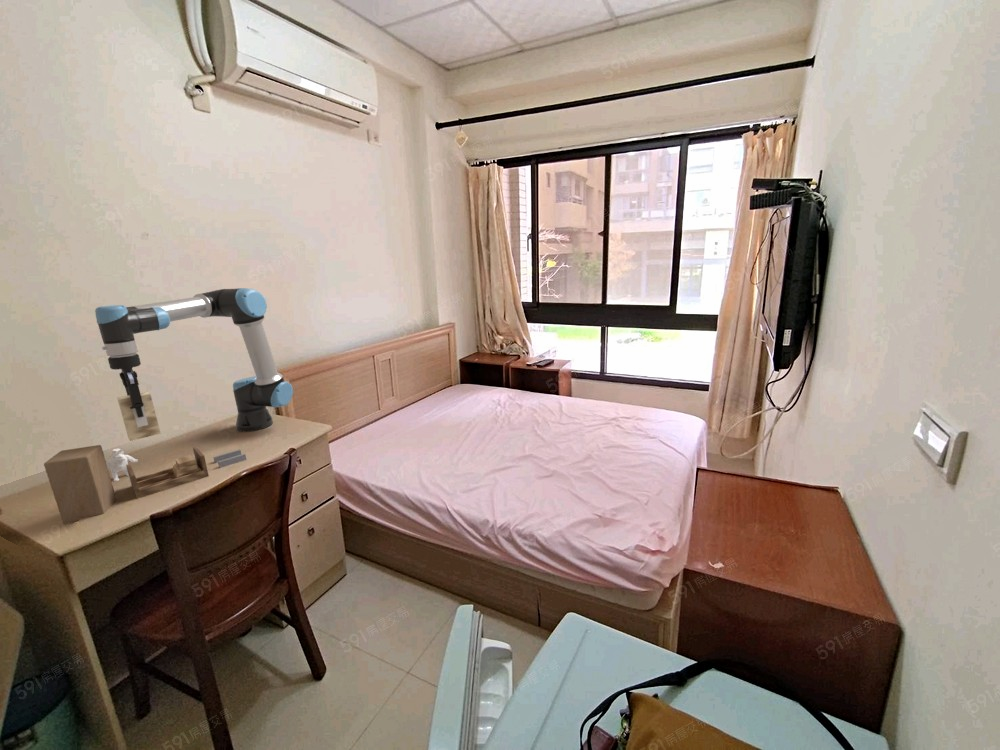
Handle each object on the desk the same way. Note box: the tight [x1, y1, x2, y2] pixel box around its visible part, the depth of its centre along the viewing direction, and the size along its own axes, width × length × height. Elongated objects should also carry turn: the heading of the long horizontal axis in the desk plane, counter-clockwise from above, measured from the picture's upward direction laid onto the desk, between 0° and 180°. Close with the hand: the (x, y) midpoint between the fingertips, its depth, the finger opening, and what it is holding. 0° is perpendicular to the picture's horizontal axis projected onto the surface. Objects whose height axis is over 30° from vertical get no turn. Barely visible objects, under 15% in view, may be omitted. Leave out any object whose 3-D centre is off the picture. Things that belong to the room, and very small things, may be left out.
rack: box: [126, 446, 210, 499], centre depth 150 cm, size 20×12×9 cm, turn 136°
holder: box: [213, 449, 247, 469], centre depth 165 cm, size 10×10×3 cm
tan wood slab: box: [117, 391, 161, 442], centre depth 142 cm, size 8×4×14 cm, turn 136°
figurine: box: [106, 448, 139, 482], centre depth 154 cm, size 9×7×12 cm
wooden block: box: [43, 444, 117, 525], centre depth 132 cm, size 10×10×20 cm
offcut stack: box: [171, 454, 201, 478], centre depth 154 cm, size 7×8×6 cm
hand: (141, 424), depth 143 cm, fingers closed on tan wood slab, 4 cm apart
